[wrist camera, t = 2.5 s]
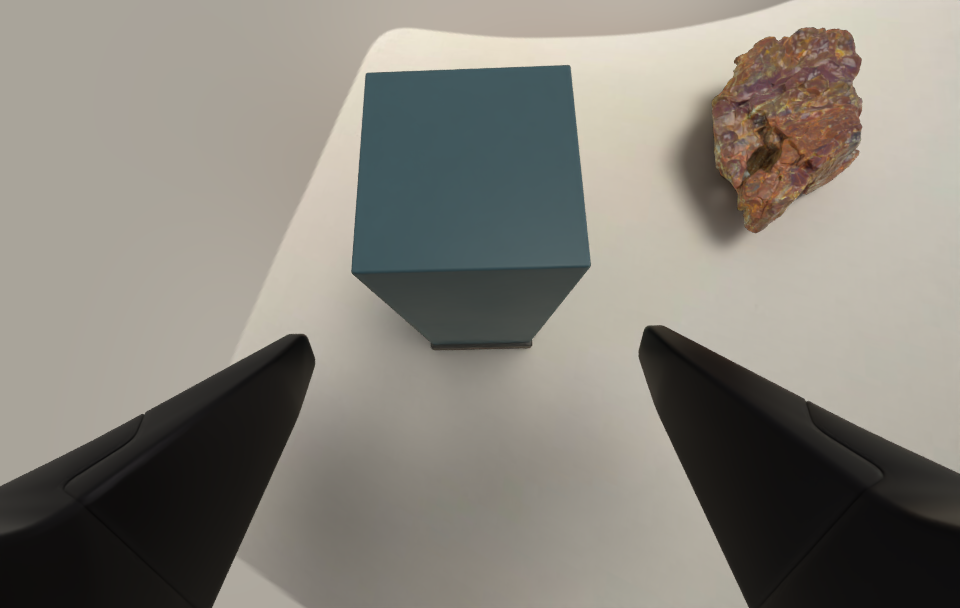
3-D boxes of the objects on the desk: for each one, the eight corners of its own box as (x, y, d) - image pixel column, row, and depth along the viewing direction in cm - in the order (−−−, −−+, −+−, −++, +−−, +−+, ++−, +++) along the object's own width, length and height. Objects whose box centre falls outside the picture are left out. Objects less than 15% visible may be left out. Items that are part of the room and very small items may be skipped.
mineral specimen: (893, 227, 20) (963, 168, 14) (729, 259, 24) (733, 222, 18) (833, 55, 23) (872, -51, 17) (695, 109, 27) (690, 38, 21)
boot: (530, 348, 20) (597, 275, 8) (433, 350, 20) (344, 282, 8) (521, 193, 23) (562, -54, 10) (435, 195, 23) (369, -45, 10)
